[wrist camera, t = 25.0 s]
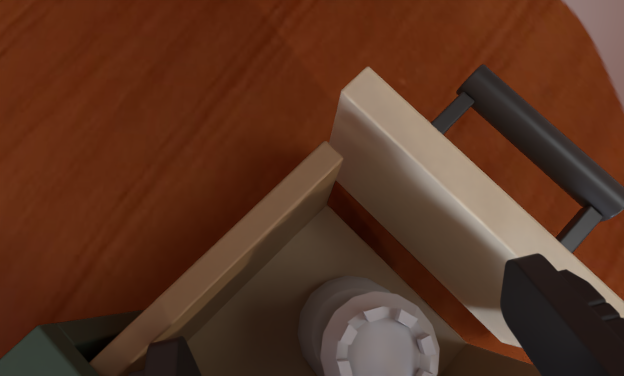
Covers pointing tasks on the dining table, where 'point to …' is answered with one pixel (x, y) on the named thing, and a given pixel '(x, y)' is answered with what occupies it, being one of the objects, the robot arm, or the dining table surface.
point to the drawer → (394, 218)
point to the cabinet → (64, 346)
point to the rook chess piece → (365, 332)
